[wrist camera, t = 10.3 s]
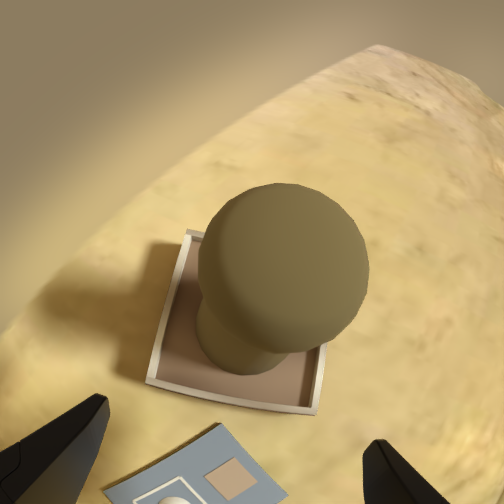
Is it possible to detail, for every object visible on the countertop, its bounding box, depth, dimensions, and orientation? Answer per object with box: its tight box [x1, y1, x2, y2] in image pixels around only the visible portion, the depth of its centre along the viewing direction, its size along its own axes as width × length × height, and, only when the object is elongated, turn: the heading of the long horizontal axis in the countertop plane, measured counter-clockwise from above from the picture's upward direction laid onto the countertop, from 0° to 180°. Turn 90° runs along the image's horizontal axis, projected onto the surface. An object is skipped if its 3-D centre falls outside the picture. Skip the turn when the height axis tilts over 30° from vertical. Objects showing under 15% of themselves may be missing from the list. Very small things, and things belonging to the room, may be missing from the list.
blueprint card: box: [103, 423, 289, 504], centre depth 14 cm, size 10×7×1 cm
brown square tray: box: [145, 229, 327, 416], centre depth 18 cm, size 10×10×3 cm
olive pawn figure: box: [196, 183, 369, 376], centre depth 12 cm, size 6×6×11 cm
